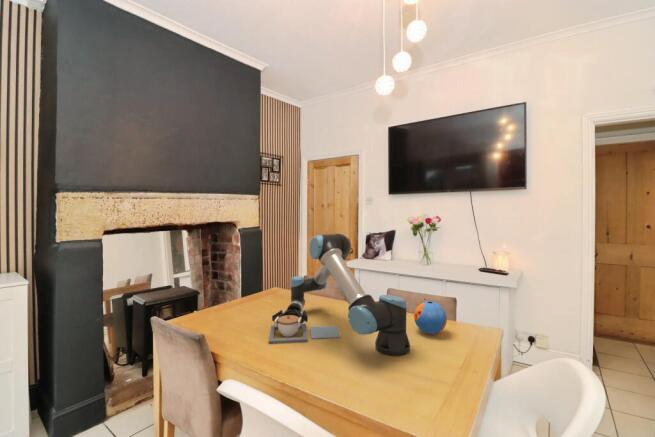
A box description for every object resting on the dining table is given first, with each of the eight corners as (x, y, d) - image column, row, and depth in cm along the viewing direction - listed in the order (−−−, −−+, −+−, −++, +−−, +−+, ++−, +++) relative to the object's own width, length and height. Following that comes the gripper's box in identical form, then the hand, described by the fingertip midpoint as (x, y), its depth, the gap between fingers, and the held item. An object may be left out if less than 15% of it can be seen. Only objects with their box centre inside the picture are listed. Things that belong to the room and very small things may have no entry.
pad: (340, 337, 152) (340, 336, 152) (311, 339, 151) (311, 338, 151) (336, 326, 166) (336, 325, 166) (310, 327, 165) (310, 327, 165)
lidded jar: (301, 330, 161) (301, 312, 161) (297, 339, 151) (297, 319, 150) (280, 329, 162) (280, 311, 162) (275, 338, 152) (274, 318, 151)
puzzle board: (307, 342, 148) (307, 339, 148) (268, 343, 146) (268, 341, 146) (306, 325, 167) (306, 323, 167) (271, 327, 166) (271, 325, 165)
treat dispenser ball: (449, 340, 149) (449, 308, 148) (415, 337, 152) (415, 306, 151) (443, 328, 164) (444, 298, 164) (413, 325, 167) (413, 297, 167)
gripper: (315, 316, 174) (310, 332, 152) (273, 315, 175) (263, 331, 153) (315, 303, 173) (310, 317, 151) (273, 302, 175) (262, 316, 153)
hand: (286, 324), depth 152 cm, fingers closed on lidded jar, 11 cm apart
